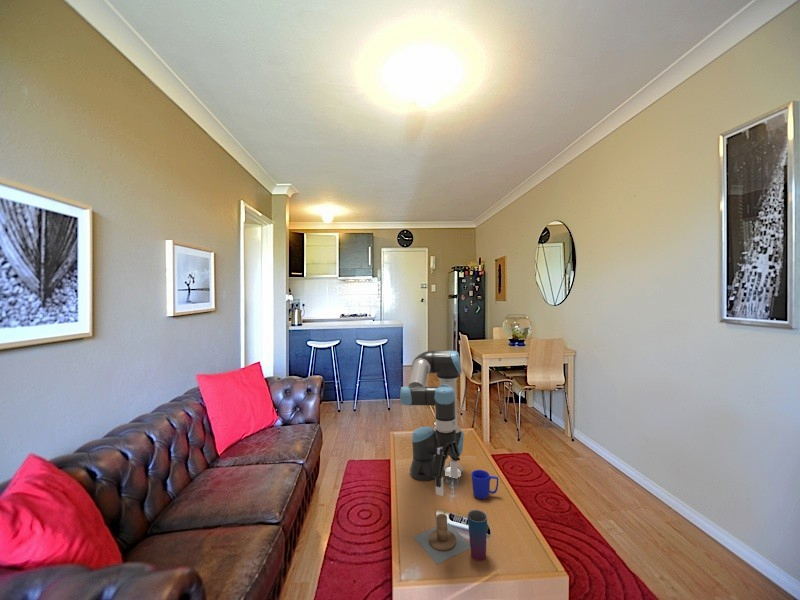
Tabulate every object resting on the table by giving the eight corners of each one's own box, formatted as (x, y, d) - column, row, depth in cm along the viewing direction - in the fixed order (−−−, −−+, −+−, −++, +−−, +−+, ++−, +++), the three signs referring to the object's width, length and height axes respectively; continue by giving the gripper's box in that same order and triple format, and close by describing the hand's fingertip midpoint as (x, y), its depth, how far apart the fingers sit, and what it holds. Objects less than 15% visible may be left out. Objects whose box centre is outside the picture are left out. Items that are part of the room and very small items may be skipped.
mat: (413, 539, 131) (413, 536, 131) (447, 524, 138) (446, 522, 138) (437, 567, 117) (436, 564, 117) (473, 549, 124) (473, 546, 124)
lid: (423, 538, 130) (423, 514, 130) (445, 529, 134) (444, 505, 134) (439, 555, 121) (438, 529, 121) (461, 544, 126) (460, 520, 125)
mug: (499, 502, 152) (499, 480, 152) (472, 500, 155) (471, 478, 155) (498, 492, 160) (497, 470, 160) (472, 490, 163) (471, 469, 163)
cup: (466, 551, 123) (465, 510, 123) (484, 549, 124) (483, 508, 124) (471, 566, 117) (470, 522, 117) (491, 564, 117) (489, 521, 117)
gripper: (440, 443, 116) (442, 505, 116) (466, 420, 137) (468, 473, 137) (421, 439, 120) (423, 499, 120) (449, 417, 141) (451, 468, 141)
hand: (447, 485), depth 128 cm, fingers open, 13 cm apart
